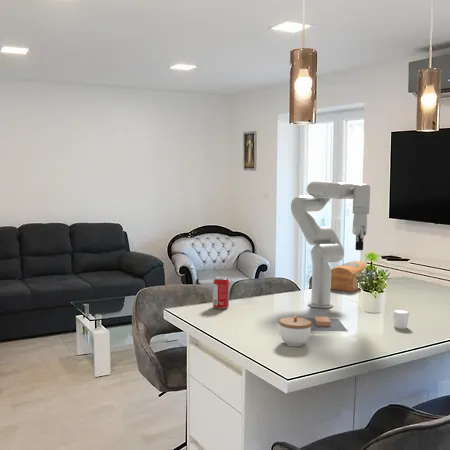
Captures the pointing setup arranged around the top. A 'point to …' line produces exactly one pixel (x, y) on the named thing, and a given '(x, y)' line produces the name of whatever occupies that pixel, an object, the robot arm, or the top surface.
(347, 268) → the wooden box
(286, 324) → the lidded bowl
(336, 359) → the top surface
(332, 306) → the robot arm
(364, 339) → the top surface
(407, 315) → the white cup
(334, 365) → the top surface
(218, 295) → the soda can
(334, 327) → the charcoal mat
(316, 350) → the top surface
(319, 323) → the picture frame
